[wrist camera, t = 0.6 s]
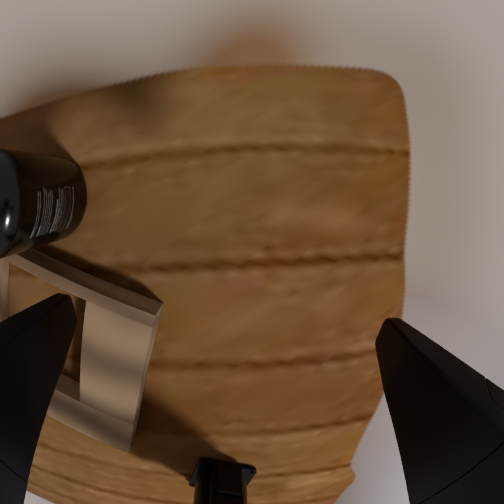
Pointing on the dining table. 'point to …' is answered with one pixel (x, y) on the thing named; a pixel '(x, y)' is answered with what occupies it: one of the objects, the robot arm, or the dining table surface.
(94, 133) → the dining table surface
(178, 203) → the dining table surface
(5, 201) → the supplement bottle
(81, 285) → the tan flat square frame
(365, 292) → the dining table surface
